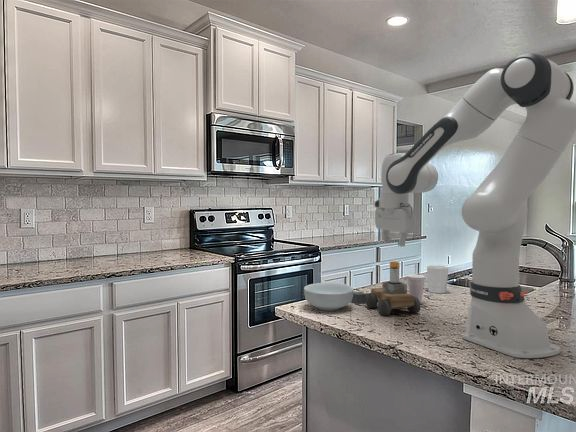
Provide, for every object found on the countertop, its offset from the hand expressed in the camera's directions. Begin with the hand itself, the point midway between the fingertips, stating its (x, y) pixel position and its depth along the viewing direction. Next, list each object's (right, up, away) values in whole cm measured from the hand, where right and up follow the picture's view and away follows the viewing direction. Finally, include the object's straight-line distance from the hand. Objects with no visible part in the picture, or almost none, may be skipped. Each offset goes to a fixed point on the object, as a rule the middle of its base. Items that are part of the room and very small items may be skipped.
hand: (393, 244), depth 133 cm
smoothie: (+10, -22, +10) cm, 26 cm away
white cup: (+24, -21, +27) cm, 42 cm away
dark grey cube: (-10, -22, +11) cm, 26 cm away
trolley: (-1, -22, 0) cm, 22 cm away
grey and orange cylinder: (0, -16, 0) cm, 16 cm away
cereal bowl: (-21, -22, +4) cm, 31 cm away
